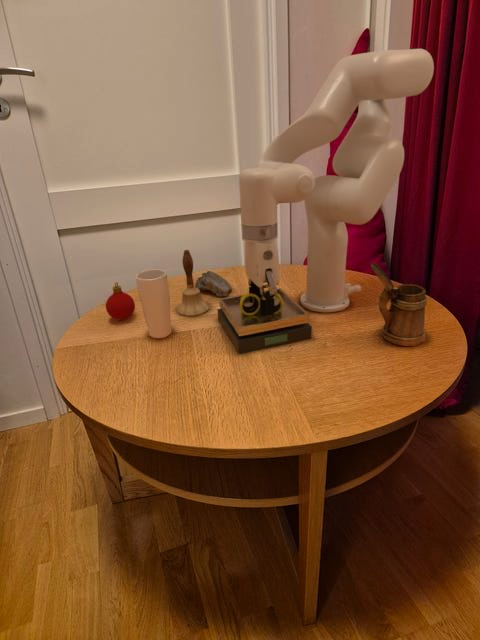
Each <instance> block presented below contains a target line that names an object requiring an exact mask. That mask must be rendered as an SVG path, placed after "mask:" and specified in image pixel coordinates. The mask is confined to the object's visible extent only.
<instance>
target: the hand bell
mask: <svg viewBox="0 0 480 640" xmlns="http://www.w3.org/2000/svg"><path fill="white" fill-rule="evenodd" d="M182 267H183V270H184V273H185V276H186V277H185V278H186V288H185V289H183V290H182V298H181V299H182V300H181V303H180V305H179V306H178V307H177V313H178V314H179V315H181V316H185V317H195V316H200V315H203V314H205V313H206V312H208V311H209V310H210V306H209V304H208V303H207V302H205V300H204V299H203V297H202V294H201V290H199V289H198V288H195V283H194V277H193V271H194V260H193V257H192V255H191V252H190V250H189V249H184V250H183V255H182Z"/></svg>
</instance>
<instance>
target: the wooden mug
mask: <svg viewBox="0 0 480 640" xmlns="http://www.w3.org/2000/svg"><path fill="white" fill-rule="evenodd" d="M370 267H371V269H372V271H373V273H374V275H376V277H377V278H378V279H379V281H380V282H381V283H382V285H383V286H384V289H383V290H382V292H381V293H380V296H379V299H378V310H379V312H380V315H381V316H382V318H383V320H384V324H383V326H382V328H381V336H382V337H383V339H385V340H386V341H387V342H388V343H391V344H393V345H396V346H400V347H416V346H418V345H421V344H423V343H425V341H426V338H427V337H426V330H425V329H426V328H425V321H426V320H425V315H426V312H425V311H426V306H427V304H428V301H427V298H428V297H427V296H426V288H424V287H423V286H421V285H417V284H410V283H407V284H406V283H405V284H400V285H397V286H396V287H394V284H393V282H392V280H391V279H390V277H389V276H388V275H387V274H386V272H385V271H384V270H383V269H382V268H381V267H380V266H379V265H378V264H377V263H375V262H371V264H370ZM389 302H390V305H389V309H388V304H389Z"/></svg>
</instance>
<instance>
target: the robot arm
mask: <svg viewBox="0 0 480 640" xmlns="http://www.w3.org/2000/svg"><path fill="white" fill-rule="evenodd" d="M434 64H435V63H434V58H433V57H432V55H431V53H430V52H428V50H426V49H423V48H411V49H410V48H408V49H382V50H375V51H369V52H362V53H357V54H351V55H348V56H345V57H343V58H341V59H340V60H339V61H337V62H336V64H335V65H334V66H333V68H332V69H331V71H330V73H329V74H328V76H327V77H326V79H325V81H324V82H323V84H322V86H321V87H320V89H319V91H318V92H317V93H316V95H315V97H314V99H313V100H312V102H311V103H310V105H309V106H308V109H307V110H306V112H304V113H303V115H301V116H300V117H298V119H295V121H293V122H292V123H290V125H288V126H287V127H286V128H285V129H283V130H282V131H281V132H280V133H278V135H277V136H275V138H273V139H272V141H271V142H270V143H269V145H268V146H267V147H266V149H265V150H264V152H263V153H262V155H261V157H260V158H259V160H258V162H257V164H256V166H255V167H251V168H246V169H243V170H242V171H241V172H240V173H239V177H238V183H239V184H238V186H239V203H240V204H239V205H240V206H239V207H240V222H241V223H240V227H241V229H240V230H241V240H242V241H243V242H244V268H245V274H246V276H247V278H248V282H247V283H248V293H249V294H255V295H257V296H258V297H259V299H260V315H261V316H267V315H272V314H274V313H275V302H274V299H275V294H276V291H277V289H278V287H277V286H280V284H281V274H280V256H279V248H278V243H277V242H278V241H277V239H278V238H279V237H278V205H279V204H296V203H301V202H304V209H305V216H306V222H307V251H306V252H307V254H306V256H307V257H306V258H307V259H306V291H305V292H303V293H302V295H300V298H299V299H300V300H299V301H300V304H301V307H304V308H305V309H307V310H309V311H313V312H316V313H335V312H336V313H337V312H340V311H343V310H345V309H346V308H348V307H349V305H350V297H349V296H350V295H351V294H357V293H360V292H361V291H362V287H361V285H360V284H354V285H352V283H350V282H349V283H346V270H347V269H346V268H347V252H348V242H349V235H348V230H347V226H346V224H351V225H360V226H361V225H364V224H367V223H368V222H370V221H371V220H373V218H374V217H375V215H376V214H377V213H378V211H379V209H380V208H381V206H382V205H383V203H384V201H385V199H386V198H387V196H388V195H389V193H390V192H391V190H392V188H393V186H394V185H395V183H396V181H397V180H398V178H399V176H400V174H401V172H402V169H403V167H404V162H405V148H404V145H403V143H402V142H401V141H400V140H399V139H398V138H396V137H394V136H389V135H390V132H391V130H392V127H393V119H392V114H391V111H390V109H389V106H388V105H389V104H388V101H387V100H393V99H401V98H407V97H414V96H418V95H420V94H421V93H423V92H424V91H425V90H426V89H427V88H428V86H429V85H430V83H431V82H432V79H433V76H434V71H435V65H434ZM357 107H358V112H357V115H356V117H355V120H354V121H353V123H352V125H351V127H349V130H348V131H347V133H346V135H345V136H344V138H343V139H342V141H341V143H340V145H339V146H338V147H337V148H336V149H337V150H336V151H335V153H334V156H333V159H332V169H333V171H334V173H335V174H336V175H334V174H333V175H332V174H331V175H329V174H328V175H327V174H325V175H320V176H317V177H315V175H314V173H313V171H312V170H311V168H308V167H307V166H306V165H304V164H298V163H294V162H295V161H296V160H297V159H298V158H300V157H301V156H302V155H304V154H306V153H308V152H310V151H312V150H316V149H318V148H321V147H323V146H325V145H328V144H329V143H331V142H333V141H334V140H336V139H338V137H339V136H340V135H341V134H342V132H343V130H344V129H345V127H346V125H347V123H348V122H349V120H350V118H351V117H352V115H353V114H354V112H355V111H356V109H357ZM264 283H266V284H265V285H263V284H264ZM265 289H267V290H268V291H267V290H265ZM264 291H266V293H264ZM249 302H250V303H253V298H252V297H251V296H249Z"/></svg>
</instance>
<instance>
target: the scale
mask: <svg viewBox="0 0 480 640" xmlns="http://www.w3.org/2000/svg"><path fill="white" fill-rule="evenodd" d="M217 320H218V323H219V324H220V325H221V327H222V328H223V330H224V332H225V334H226V336H227V337H228V339H229V340H230V342H231V343H232V345H233V347H234V348H235V350H236V352H237V353H238V355H240V354H245V353H249V352H254V351H259V350H263V349H268V348H272V347H277V346H281V345H286V344H287V345H288V344H291V343H296V342H301V341H305V340H309V339H312V333H313V332H312V331H313V329H312V327H313V326H312V325H311V324H309V323H310V322H309V323H304V324H299V325H294V326H289V327H284V328H279V329H274V330H269V331H264V332H259V333H254V334H249V335H244V336H239V335H238V334H237V332H236V331H235V329H234V327H233V326H232V324H231V323H230V321H229V320H228V318H227V317H226V315H225V314H224V312H223V311H222V309H221V308H217Z"/></svg>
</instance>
